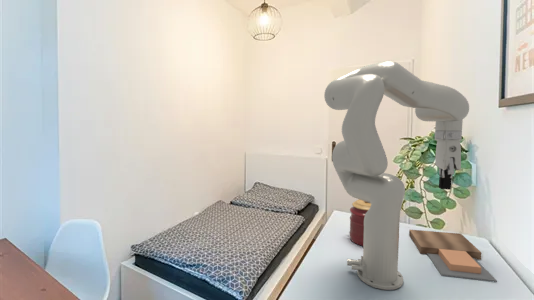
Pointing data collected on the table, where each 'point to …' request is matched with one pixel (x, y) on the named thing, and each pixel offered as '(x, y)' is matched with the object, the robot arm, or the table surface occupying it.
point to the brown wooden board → (442, 242)
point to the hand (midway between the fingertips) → (444, 188)
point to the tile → (459, 261)
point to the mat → (458, 274)
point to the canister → (358, 220)
